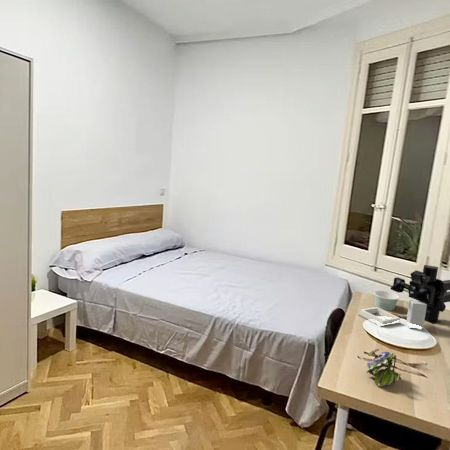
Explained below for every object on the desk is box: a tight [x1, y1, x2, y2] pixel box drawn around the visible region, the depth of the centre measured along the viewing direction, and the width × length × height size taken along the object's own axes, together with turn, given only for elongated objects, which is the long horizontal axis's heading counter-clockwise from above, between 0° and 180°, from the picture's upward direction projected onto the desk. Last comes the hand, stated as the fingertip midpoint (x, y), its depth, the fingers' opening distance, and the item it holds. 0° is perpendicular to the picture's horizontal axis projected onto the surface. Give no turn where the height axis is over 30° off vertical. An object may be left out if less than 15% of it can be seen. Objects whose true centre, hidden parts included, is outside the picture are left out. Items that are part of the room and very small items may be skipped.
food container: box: [373, 290, 400, 311], centre depth 185 cm, size 12×12×6 cm
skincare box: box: [405, 299, 427, 328], centre depth 162 cm, size 6×4×12 cm
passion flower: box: [365, 348, 402, 387], centre depth 120 cm, size 11×11×12 cm
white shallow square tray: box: [358, 306, 401, 324], centre depth 169 cm, size 13×13×3 cm
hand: (399, 291), depth 159 cm, fingers open, 9 cm apart
